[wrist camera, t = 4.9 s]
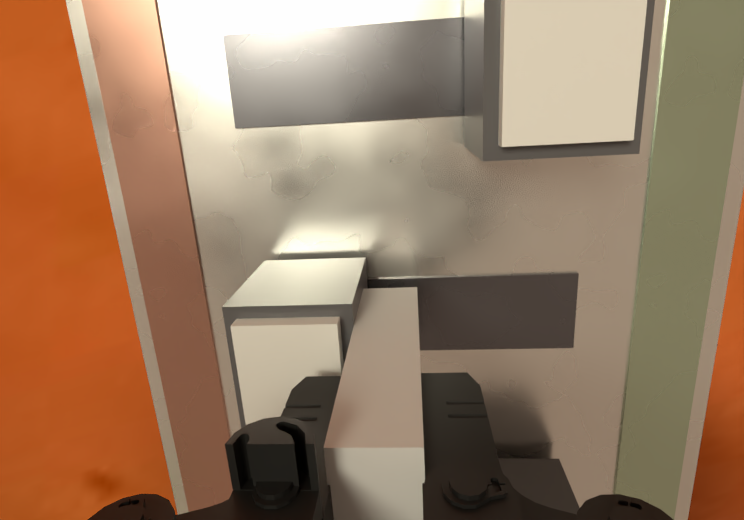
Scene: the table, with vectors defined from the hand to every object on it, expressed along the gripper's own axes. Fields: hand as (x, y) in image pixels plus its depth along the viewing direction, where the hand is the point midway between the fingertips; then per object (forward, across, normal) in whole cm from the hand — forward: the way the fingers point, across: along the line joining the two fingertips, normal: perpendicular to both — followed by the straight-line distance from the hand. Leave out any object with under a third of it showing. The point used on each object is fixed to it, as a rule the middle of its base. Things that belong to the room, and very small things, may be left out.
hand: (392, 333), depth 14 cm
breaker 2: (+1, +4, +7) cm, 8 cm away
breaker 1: (+1, -2, 0) cm, 3 cm away
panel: (+3, +1, 0) cm, 3 cm away
